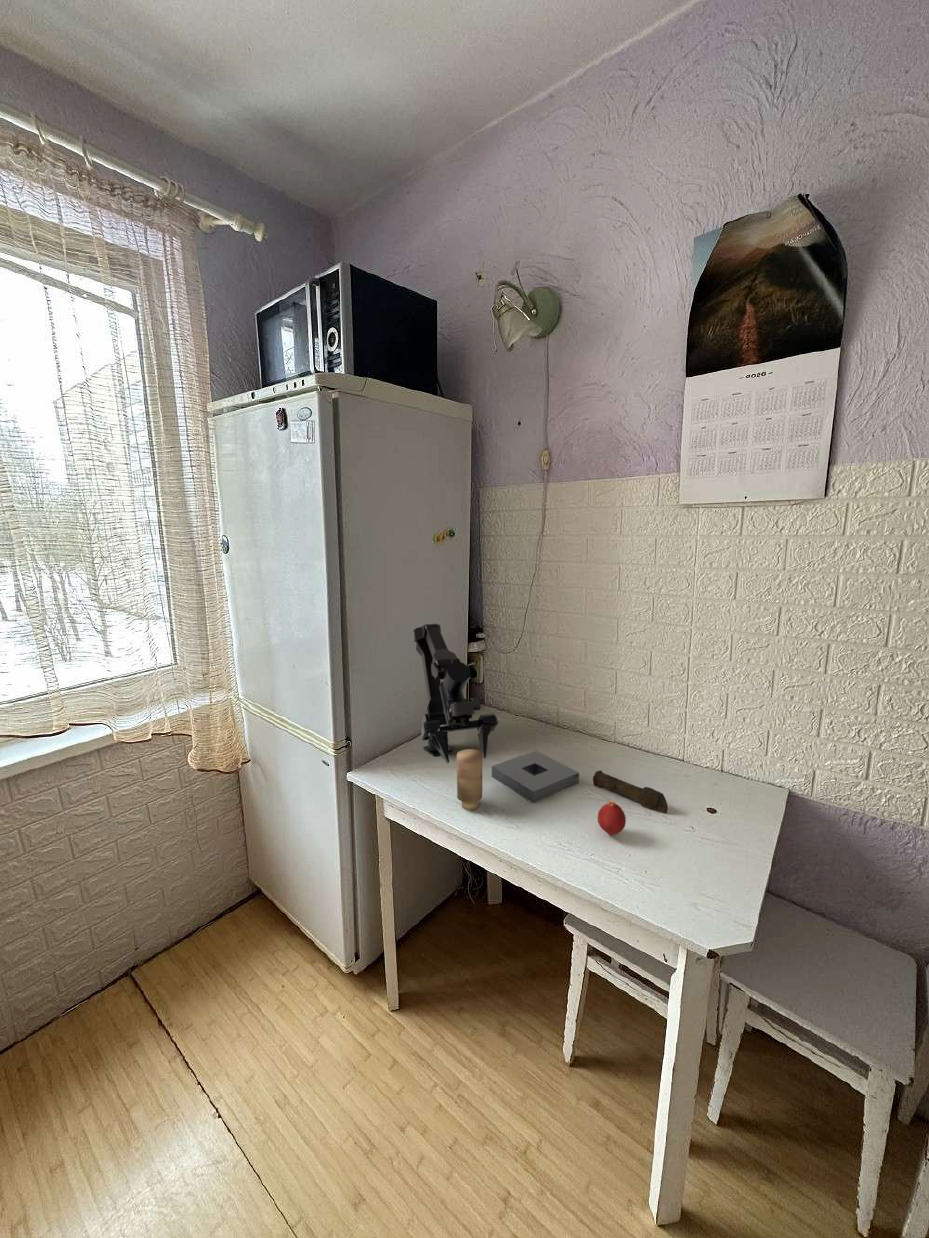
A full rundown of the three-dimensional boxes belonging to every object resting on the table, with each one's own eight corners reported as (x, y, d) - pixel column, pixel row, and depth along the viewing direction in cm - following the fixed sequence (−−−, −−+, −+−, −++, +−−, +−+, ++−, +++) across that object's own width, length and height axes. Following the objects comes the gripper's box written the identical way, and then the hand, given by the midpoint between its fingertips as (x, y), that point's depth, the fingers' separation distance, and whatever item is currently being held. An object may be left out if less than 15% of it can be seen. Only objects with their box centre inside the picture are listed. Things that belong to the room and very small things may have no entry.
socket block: (491, 776, 134) (491, 766, 133) (535, 760, 143) (536, 750, 142) (533, 803, 121) (533, 791, 120) (578, 783, 130) (579, 772, 129)
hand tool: (591, 787, 129) (591, 770, 128) (600, 782, 131) (601, 765, 130) (660, 819, 114) (662, 801, 113) (669, 813, 117) (670, 794, 116)
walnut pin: (452, 804, 121) (451, 753, 118) (472, 796, 124) (472, 746, 122) (466, 815, 116) (466, 762, 113) (487, 807, 119) (487, 755, 117)
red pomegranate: (603, 823, 112) (605, 790, 111) (629, 833, 109) (631, 799, 107) (592, 835, 108) (594, 801, 107) (618, 846, 104) (620, 811, 103)
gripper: (422, 690, 120) (433, 752, 111) (495, 682, 125) (512, 742, 116) (416, 710, 128) (426, 770, 120) (485, 702, 134) (499, 759, 125)
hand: (466, 759), depth 120 cm, fingers open, 9 cm apart
